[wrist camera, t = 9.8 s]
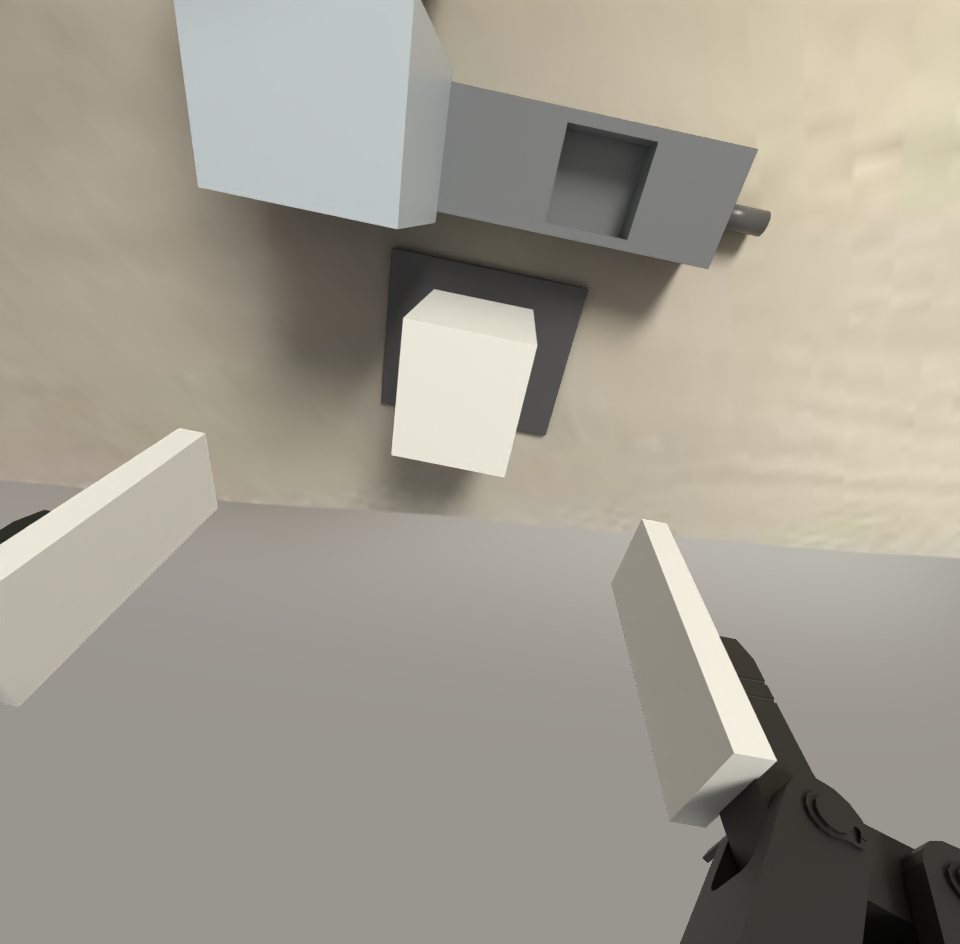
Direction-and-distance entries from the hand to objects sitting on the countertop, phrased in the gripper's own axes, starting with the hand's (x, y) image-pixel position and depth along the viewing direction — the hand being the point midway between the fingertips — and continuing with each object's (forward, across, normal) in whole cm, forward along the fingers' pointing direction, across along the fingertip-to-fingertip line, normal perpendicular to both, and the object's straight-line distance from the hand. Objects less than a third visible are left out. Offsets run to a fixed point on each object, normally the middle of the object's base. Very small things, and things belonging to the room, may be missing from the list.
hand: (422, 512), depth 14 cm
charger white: (+18, 0, 0) cm, 18 cm away
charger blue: (+16, -6, +10) cm, 20 cm away
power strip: (+18, +1, +10) cm, 21 cm away
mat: (+18, 0, 0) cm, 19 cm away
